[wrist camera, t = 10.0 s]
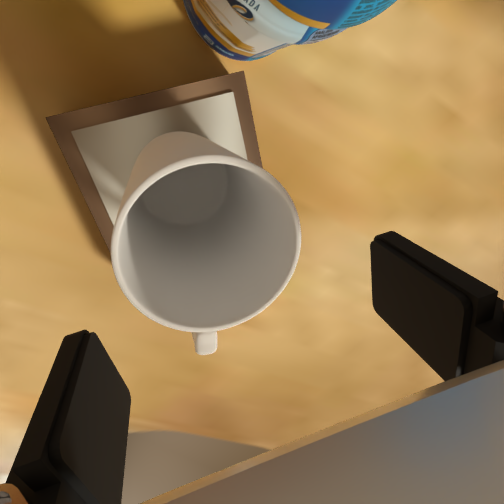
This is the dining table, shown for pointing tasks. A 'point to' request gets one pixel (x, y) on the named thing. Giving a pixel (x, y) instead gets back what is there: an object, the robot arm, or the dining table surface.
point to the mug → (202, 237)
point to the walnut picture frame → (149, 135)
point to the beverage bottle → (274, 23)
